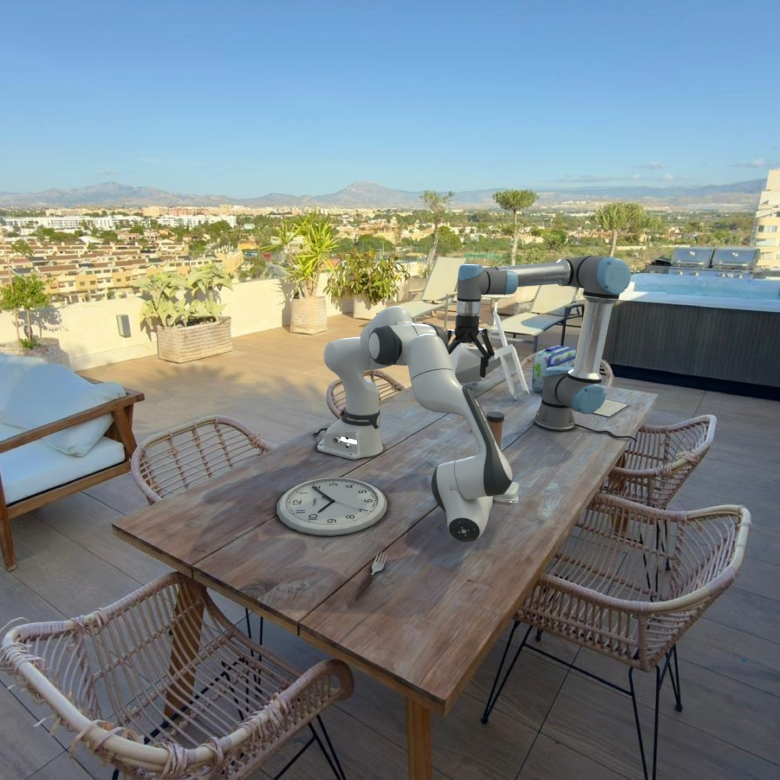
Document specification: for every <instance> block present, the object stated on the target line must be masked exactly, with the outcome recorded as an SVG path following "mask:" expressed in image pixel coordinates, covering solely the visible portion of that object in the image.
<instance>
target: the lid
mask: <svg viewBox="0 0 780 780" xmlns="http://www.w3.org/2000/svg"><path fill="white" fill-rule="evenodd" d="M486 418H487V420H488V421H490V422H496V423H498V422H503V423H504V421H505V414H504V413H503V412H501V411H488V412H487V413H486Z"/></svg>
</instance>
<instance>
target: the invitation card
mask: <svg viewBox="0 0 780 780" xmlns="http://www.w3.org/2000/svg"><path fill="white" fill-rule="evenodd" d="M628 406H629V404H627V403H623V402H618V401H614V400H609V399H606V398H605V401H604V403H603V405H602V406H601V407H600V408H599V409H597V410H596V411H595V412H593V413H592V414H596V415H600V416H604V417H608V418H609V417H611V416H613V415H614V414H616V413H617V412H619V411H621V410H623V409H624V408H626V407H628Z"/></svg>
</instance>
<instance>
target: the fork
mask: <svg viewBox="0 0 780 780" xmlns="http://www.w3.org/2000/svg"><path fill="white" fill-rule="evenodd" d="M379 552H380V550H378V551H377V554H376V556H375V559H374V561H373V563H372V565H371V570H372V572H371V574H369V576H368V577H366V579H365V581H364V582H362V585H361V587H360V589H359V592H358V593H357V596H356V598H355V599H354V602H355V603H356V602H357V601H358V600H359V599H360V597H361V595H362V594H363V593H364V592H365V591H366V590H367V588H368V587H369V585H370V583H371V581H372V579H373V576H374V574H375V573H377V572H381V571H382V570H383V569H384V567H385V564H386V561H387V556H388V554H386V555H385V552H383V551H382V550H381V552H380V553H379ZM382 552H383V554H382ZM378 555H379V556H378ZM384 555H385V557H384Z"/></svg>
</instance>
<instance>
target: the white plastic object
mask: <svg viewBox="0 0 780 780" xmlns="http://www.w3.org/2000/svg"><path fill="white" fill-rule="evenodd" d="M492 315H493V319H494V321H495V324H496V325H495V326H496V328H497V332H498V335H499V338H500V342H501V345H502V347H500V348H498V349H496V350H495V349H493V350H494V353H495V355H494V356H491V358H490V359H489V363H488V367H486V374H485V377H486V376H487V375H489V374H490V373H492V372H494V371H495V370H496V369H497V368H499V367H500V366H502V370H503V373H504V376H505V380H506V383H507V386H508V390H509V393H510V394H511V395H512V397H513V398H514V399H515V400H517V392H516V391H517V390H516V388H515V385H514V381H513V378H512V375H511V371H510V369H509V365H508V361H510V360H513V363H514V366H515V369H516V372H517V376H518V380H519V382H520V385H521V389H522V391H523V393H524V395H525V396H526V397H528V396H531V395H530V390H529V388H528V387H529V386H528V384H527V381H526V378H525V375H524V371H523V369H522V368H523V367H522V366H521V362H520V359H519V355H518V352H517V349H516V347H515V346H514V345H513V343H511V344H508V341H507V337H506V334H505V331H504V328H503V325H502V321H501V318H500V315H499V314H498V312H497V311H496V310H495V311H492ZM481 345H482V346H483V347H484V349H485V350H486V351H487V349H486V346H485V344H484V343H483V344H481ZM487 353H488V351H487ZM481 357H484V356H483V355H482V353H481V352H480V351H479V349H478V348H477V347H476V345H473V346H469V345H468V343H460V344H459V345H458V346H457V347H456V348H455V349H454V350H453V352H452V353H451V354H450V359H451V362H452V365H453V369H454V373H455V376H456V378H457V380H458V382H459V383H460V384H467V383H468V384H469V383H473V384H477V383H480V382H482V381H484V378H483V377H481V376H480V363H481Z"/></svg>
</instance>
